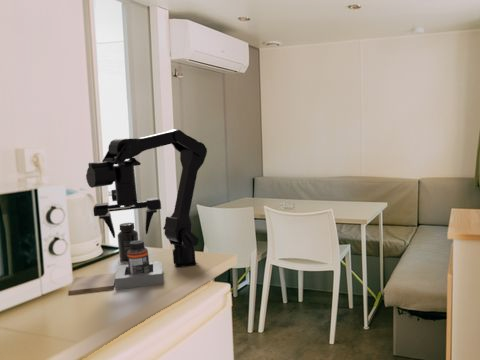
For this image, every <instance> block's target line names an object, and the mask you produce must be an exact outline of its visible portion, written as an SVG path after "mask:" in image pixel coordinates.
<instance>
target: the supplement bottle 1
mask: <svg viewBox="0 0 480 360" xmlns="http://www.w3.org/2000/svg"><path fill="white" fill-rule="evenodd" d="M137 240H139V233H138V231H136V230H135V223H134V222H124V223H120V224H119V232H118V234H117V245H118V253H119V259H120V260H121V261H122V262H123V261H126V262H128V257H127V252H128V250H129V249H130V242H132V241H137Z"/></svg>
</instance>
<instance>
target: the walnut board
mask: <svg viewBox="0 0 480 360" xmlns="http://www.w3.org/2000/svg"><path fill="white" fill-rule="evenodd" d="M115 275H116V272H111V273H103V274H93V275H85V276H84V275H83V276H77V277H76V276H75V277H74V278H73V281H72V282H71V285H70V287H69V289H68V292H67V293H68V295H74V294H83V293H92V292H93V293H94V292H100V291H109V290H114V289H115Z"/></svg>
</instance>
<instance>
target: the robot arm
mask: <svg viewBox="0 0 480 360" xmlns="http://www.w3.org/2000/svg"><path fill="white" fill-rule="evenodd" d="M167 145H172V147H173V148H174V149H175V150H176V151H177V152H179V157H180V158H179V159H180V165H181V167H182V169H181V175H180V180H179V185H178V191H177V194H176V199H175V204H174V210H173V212H172V214H171V216H166V217H165V222H164V226H163V228H162V229H163V230H164V236H165V238H166V239H168V242H169V243H170V245H173V249H172V261H173V264H174V266H175V268H179V267H180V268H181V267H188V266H196V265H197V260H196V250H195V246H198V245H199V240H200V238H199V237H197V235H196V234H194V233H193V232H192V228H193V225H192V221H191V217H190V213H191V207H192V204H193V203H192V201H193V197H194V192H195V186H196V181H197V177H198V171H199V170H200V169H201V167H202V166H203V164H204V163H205V160H206V156H207V154H208V148H207V147H206V145H205V144H204V143H203V142H201V141H198V140H197V139H195V138H193V137H192V136H190V135H187V134H186V133H185V132H183V131H182V130H181V129H169V130H168V131H163V132H160V133H155V134H151V135H147V136H143V137H137V138H116V139H113V140H111V141H110V142H109V144H108V151H107V152H106V154H105V156H104V157H103V159H102V161H100V162H89V163H88V168H87V170H86V175H85V178H86V183H87V185H88V186H89V188H92V189H93V188H99V187H106V186H111V185H113V184H114V186H115V189H111V200H112V202H116V204H109V203H108V202H100V203H95V204H94V205H93V209H92V211H93V217H99V218H98V219H100V220H101V219H102V220H103V221H104V223H105V224H106V225H107V227H108V229H109V232H110V233H111V235H112V238H113V239H114V238H116V234H115V232H116V231H115V228H114V223H113V220H112V215H111V212H118V211H128V210H136V209H138V210H139V209H145V235H147V234H148V233H149V228H150V224H151V221H152V219H153V215H154V214H156V213H158V210H162V203H161V200H160V198H159V197H157V196H156V197H147V198H145V201H138V194H137V184H136V176H135V167H137V166H141V162H140V161H139V160H137V159H136V157H137V156H138V155H140V154H141V153H143V152H145V151H148V150H151V149H155V148H160V147H163V146H167Z"/></svg>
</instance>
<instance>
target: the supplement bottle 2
mask: <svg viewBox="0 0 480 360" xmlns="http://www.w3.org/2000/svg"><path fill="white" fill-rule="evenodd" d="M127 257H128V261H127V263H128V264H127V265H128V267H129V275H131V274H140V273H149V272H150V268H149V262H150V260H149V250H148V248H147V247H146V246H145V242H144V240H139V239H138V240H137V241H132V242H130V249H129V250H128V252H127Z"/></svg>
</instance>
